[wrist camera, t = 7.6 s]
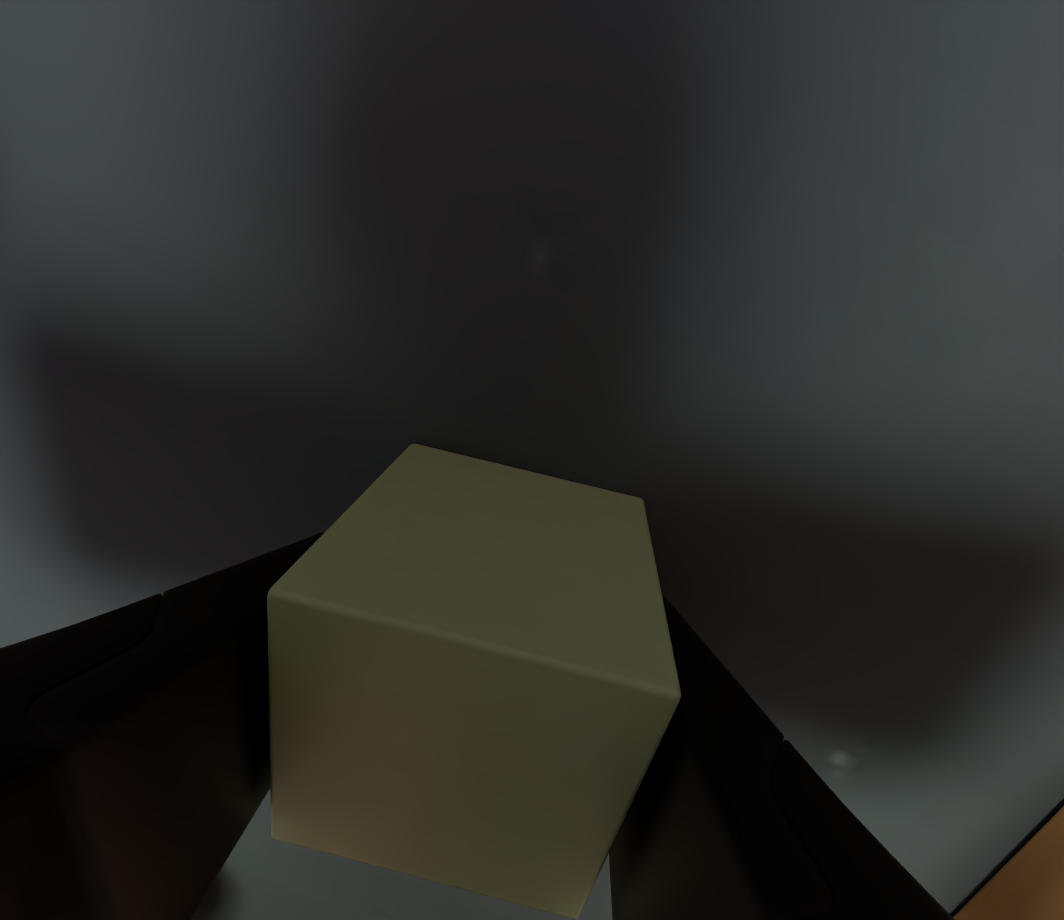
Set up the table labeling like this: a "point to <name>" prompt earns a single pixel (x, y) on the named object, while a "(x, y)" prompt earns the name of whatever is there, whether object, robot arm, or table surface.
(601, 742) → the green cube
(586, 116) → the table surface
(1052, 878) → the oak block
